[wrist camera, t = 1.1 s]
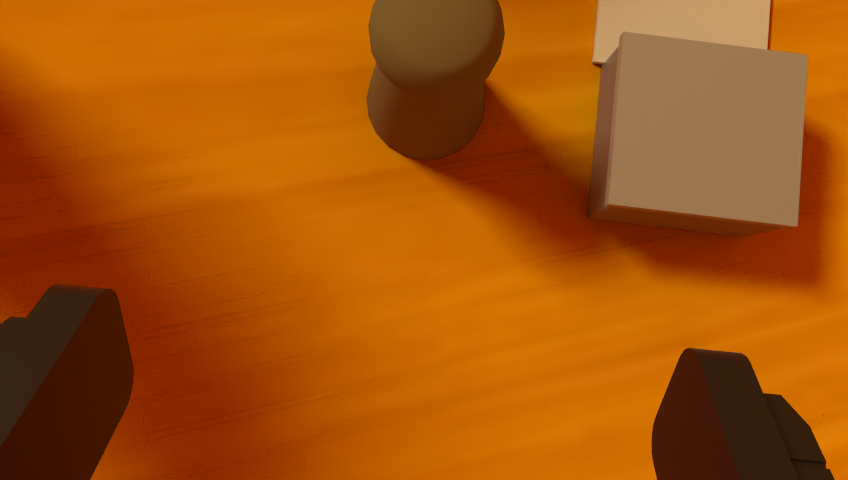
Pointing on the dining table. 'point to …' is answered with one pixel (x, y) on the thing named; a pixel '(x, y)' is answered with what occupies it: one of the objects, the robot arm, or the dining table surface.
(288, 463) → the dining table surface
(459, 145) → the cork
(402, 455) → the dining table surface
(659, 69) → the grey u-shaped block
